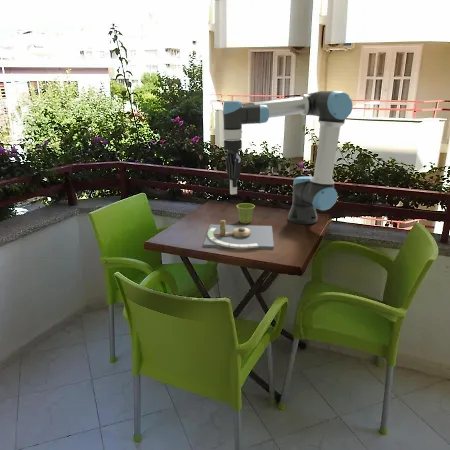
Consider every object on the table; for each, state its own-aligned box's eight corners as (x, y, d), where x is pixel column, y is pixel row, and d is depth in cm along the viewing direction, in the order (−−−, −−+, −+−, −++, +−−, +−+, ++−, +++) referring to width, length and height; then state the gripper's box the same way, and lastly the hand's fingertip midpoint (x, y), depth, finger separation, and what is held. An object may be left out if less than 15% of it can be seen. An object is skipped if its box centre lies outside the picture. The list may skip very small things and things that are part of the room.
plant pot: (253, 225, 197) (253, 209, 194) (235, 224, 199) (235, 208, 196) (255, 219, 206) (255, 203, 203) (238, 218, 208) (238, 202, 205)
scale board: (271, 228, 193) (272, 224, 192) (273, 251, 166) (274, 247, 165) (210, 226, 195) (210, 222, 195) (202, 249, 168) (202, 245, 168)
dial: (248, 230, 186) (248, 216, 183) (251, 236, 178) (252, 222, 176) (213, 232, 184) (213, 218, 181) (215, 238, 176) (214, 224, 174)
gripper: (248, 140, 158) (248, 196, 166) (234, 137, 169) (234, 189, 177) (231, 142, 155) (232, 198, 163) (218, 138, 166) (219, 191, 174)
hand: (233, 193), depth 170 cm, fingers closed
